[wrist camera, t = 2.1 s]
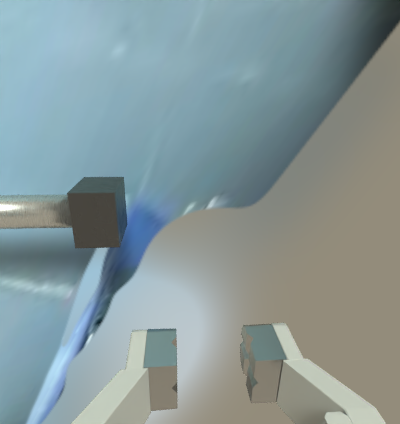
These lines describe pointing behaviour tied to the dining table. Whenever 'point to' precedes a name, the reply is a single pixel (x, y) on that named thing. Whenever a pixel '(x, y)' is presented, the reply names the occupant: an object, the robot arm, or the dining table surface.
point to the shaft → (73, 212)
